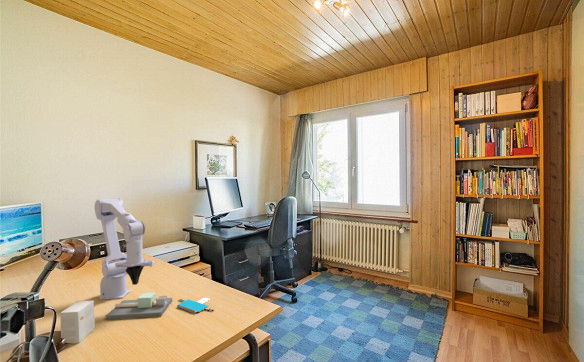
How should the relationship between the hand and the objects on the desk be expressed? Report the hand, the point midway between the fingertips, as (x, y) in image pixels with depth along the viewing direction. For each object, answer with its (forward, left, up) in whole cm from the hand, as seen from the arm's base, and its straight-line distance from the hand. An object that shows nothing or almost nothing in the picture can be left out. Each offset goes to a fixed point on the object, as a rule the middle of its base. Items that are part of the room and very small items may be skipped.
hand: (135, 283), depth 109 cm
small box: (-9, -20, -10) cm, 24 cm away
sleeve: (+6, -4, -8) cm, 10 cm away
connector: (+12, -4, -8) cm, 14 cm away
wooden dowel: (+4, -4, -8) cm, 10 cm away
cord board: (+4, -4, -9) cm, 11 cm away
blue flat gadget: (+25, -2, -10) cm, 27 cm away
